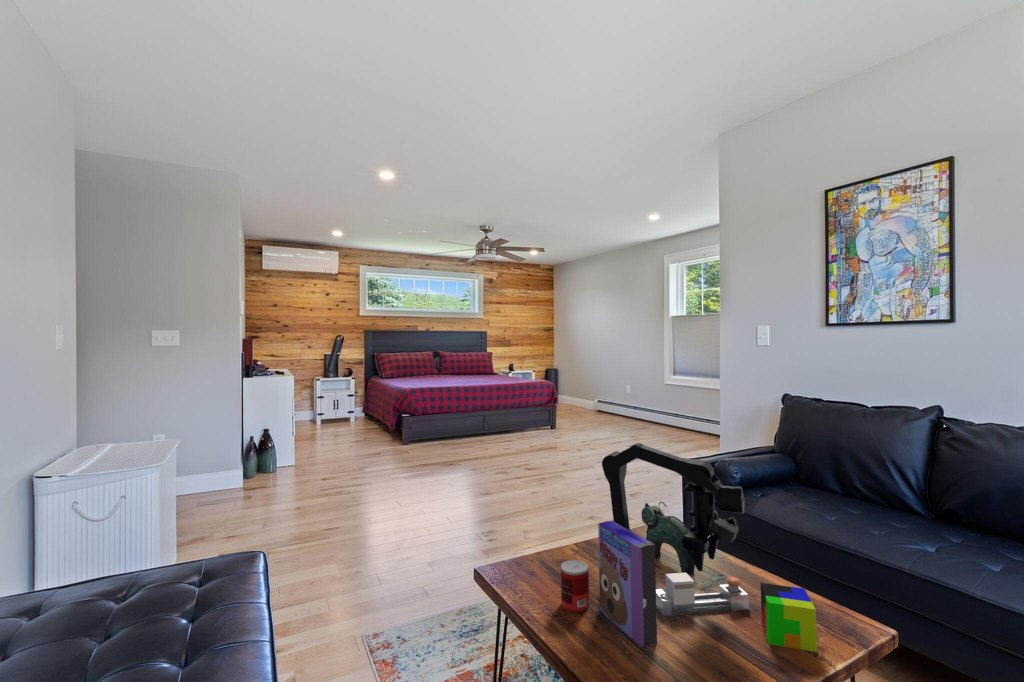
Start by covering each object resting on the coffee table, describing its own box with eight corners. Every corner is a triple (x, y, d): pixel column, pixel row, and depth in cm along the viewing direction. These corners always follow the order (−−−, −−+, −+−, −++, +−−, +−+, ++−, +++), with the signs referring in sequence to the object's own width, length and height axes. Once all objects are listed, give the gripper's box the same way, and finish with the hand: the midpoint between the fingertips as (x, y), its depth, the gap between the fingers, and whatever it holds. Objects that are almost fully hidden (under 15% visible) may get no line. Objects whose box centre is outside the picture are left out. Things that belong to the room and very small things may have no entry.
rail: (663, 615, 124) (662, 599, 124) (654, 603, 130) (653, 588, 130) (748, 609, 127) (748, 593, 127) (736, 597, 133) (735, 582, 133)
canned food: (592, 601, 132) (591, 562, 132) (584, 616, 125) (583, 575, 125) (566, 595, 135) (565, 557, 136) (557, 609, 128) (556, 569, 128)
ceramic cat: (640, 554, 162) (639, 496, 162) (654, 550, 165) (653, 493, 165) (686, 578, 144) (684, 513, 145) (700, 573, 147) (699, 510, 148)
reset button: (731, 600, 128) (730, 583, 128) (724, 593, 131) (723, 576, 131) (743, 599, 128) (743, 582, 128) (736, 593, 132) (735, 576, 132)
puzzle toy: (805, 628, 118) (804, 588, 118) (817, 652, 109) (815, 609, 109) (761, 621, 121) (760, 582, 122) (769, 644, 112) (767, 602, 112)
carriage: (674, 605, 125) (673, 583, 125) (665, 595, 130) (665, 573, 130) (695, 604, 126) (694, 581, 126) (686, 594, 131) (685, 572, 131)
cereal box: (599, 610, 127) (598, 522, 128) (614, 606, 129) (612, 520, 130) (641, 647, 111) (639, 547, 112) (657, 642, 113) (654, 543, 114)
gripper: (722, 524, 117) (725, 587, 116) (744, 504, 131) (747, 560, 130) (679, 515, 124) (681, 574, 124) (703, 497, 138) (706, 550, 137)
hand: (706, 564), depth 128 cm, fingers open, 9 cm apart
